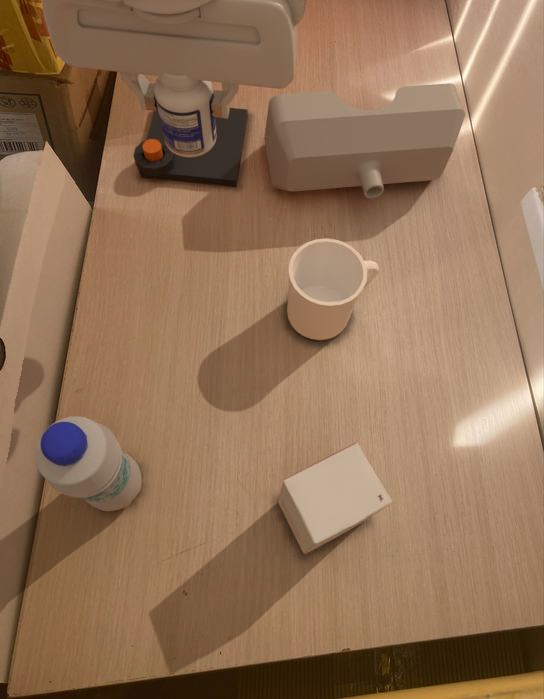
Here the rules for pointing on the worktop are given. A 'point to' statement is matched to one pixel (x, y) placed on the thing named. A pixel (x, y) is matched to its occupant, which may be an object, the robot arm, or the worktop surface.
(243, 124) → the scale
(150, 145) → the button
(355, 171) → the tank
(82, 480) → the bottle
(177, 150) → the pill bottle
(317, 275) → the mug
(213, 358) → the worktop surface
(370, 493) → the small box
